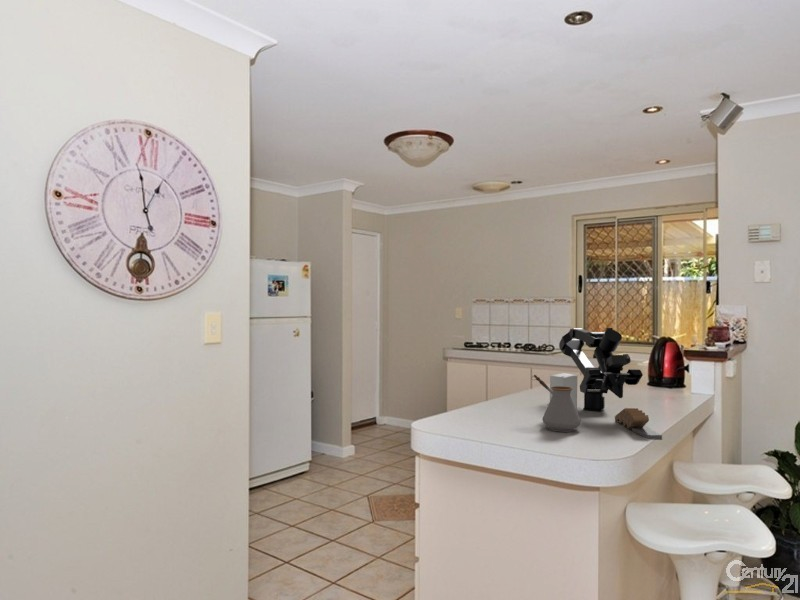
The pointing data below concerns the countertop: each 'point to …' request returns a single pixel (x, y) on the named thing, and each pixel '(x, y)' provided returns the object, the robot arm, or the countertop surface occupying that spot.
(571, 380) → the skincare box
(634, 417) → the domino
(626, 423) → the domino
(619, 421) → the domino
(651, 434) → the domino
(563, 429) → the coffee pot
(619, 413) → the domino
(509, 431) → the countertop surface
